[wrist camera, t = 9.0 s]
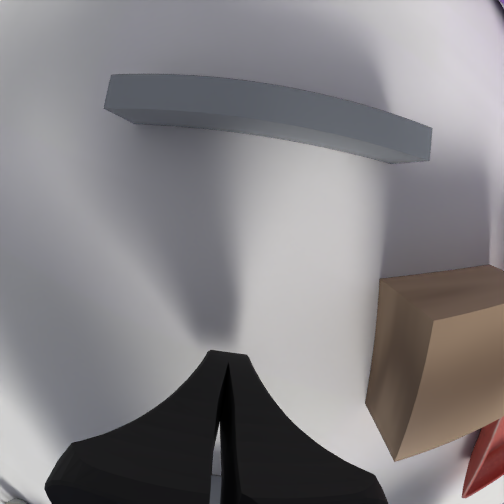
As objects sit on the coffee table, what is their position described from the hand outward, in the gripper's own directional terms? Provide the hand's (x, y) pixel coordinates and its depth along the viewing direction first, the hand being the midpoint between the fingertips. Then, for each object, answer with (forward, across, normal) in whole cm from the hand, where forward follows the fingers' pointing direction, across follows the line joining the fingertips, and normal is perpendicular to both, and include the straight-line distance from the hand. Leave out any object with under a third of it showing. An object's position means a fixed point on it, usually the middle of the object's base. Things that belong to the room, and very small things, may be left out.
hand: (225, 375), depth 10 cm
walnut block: (+1, -9, -2) cm, 9 cm away
